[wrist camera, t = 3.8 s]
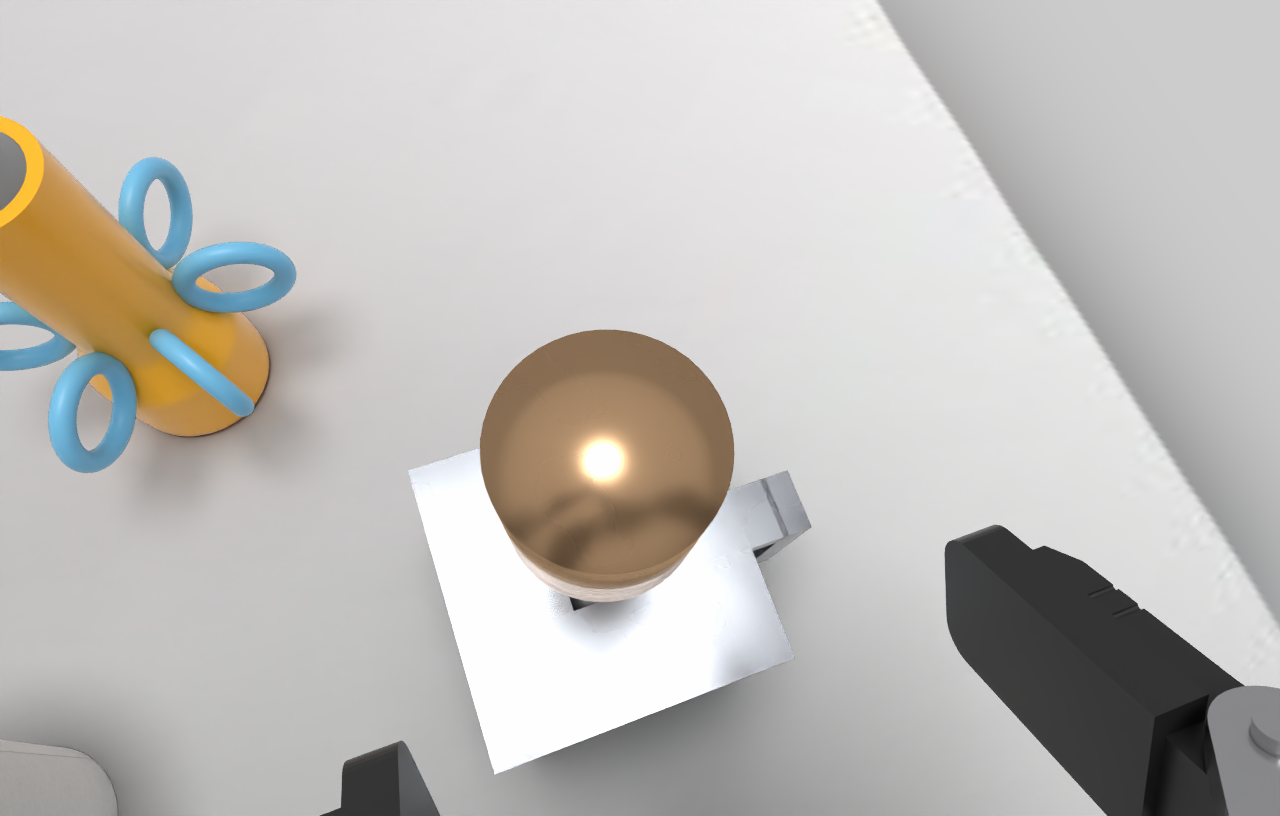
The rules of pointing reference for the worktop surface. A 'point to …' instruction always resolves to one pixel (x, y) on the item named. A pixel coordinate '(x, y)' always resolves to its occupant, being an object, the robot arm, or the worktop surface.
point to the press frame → (600, 617)
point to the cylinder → (126, 303)
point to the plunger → (606, 462)
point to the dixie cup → (52, 782)
